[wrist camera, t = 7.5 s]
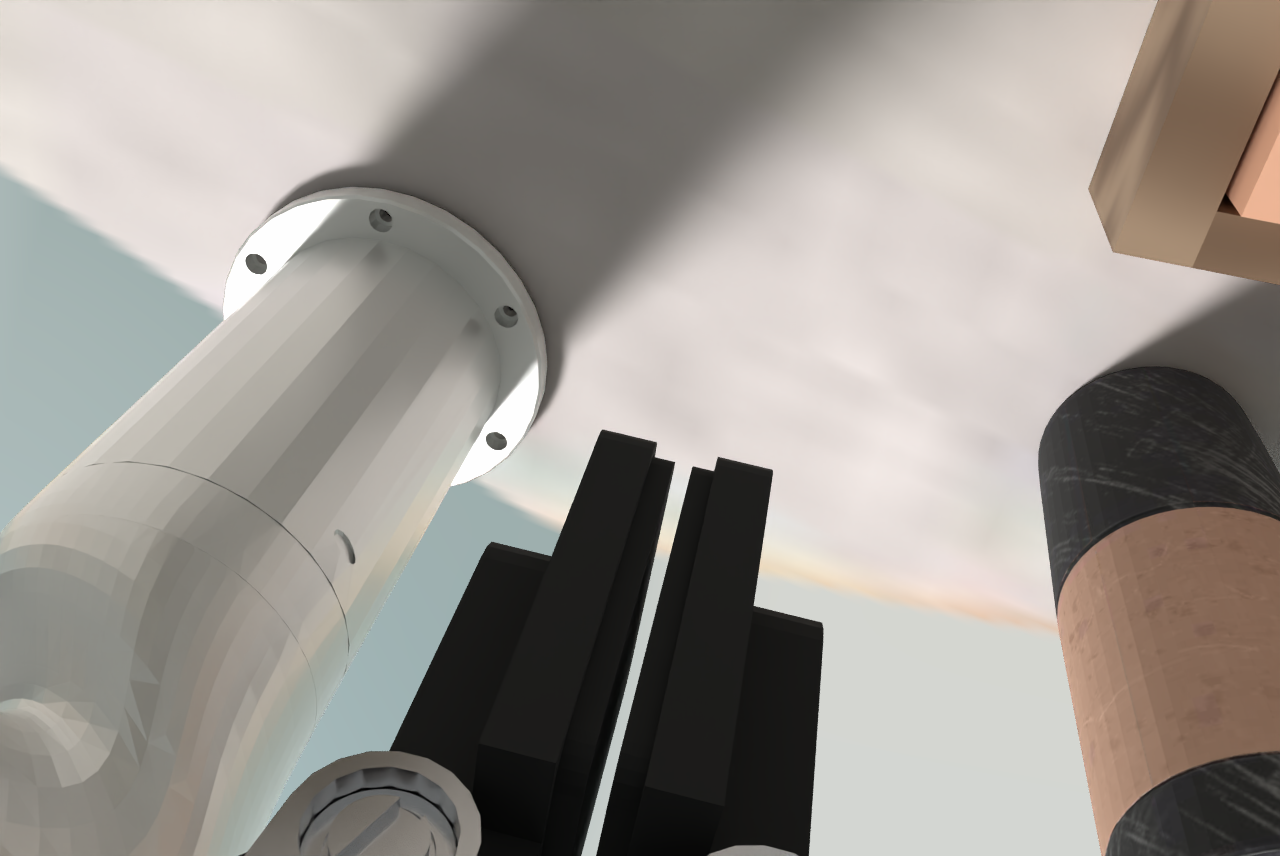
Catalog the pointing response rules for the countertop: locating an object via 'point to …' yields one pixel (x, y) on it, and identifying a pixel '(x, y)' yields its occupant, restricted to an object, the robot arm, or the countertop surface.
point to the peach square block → (1260, 165)
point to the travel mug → (1168, 611)
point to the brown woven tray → (1191, 139)
